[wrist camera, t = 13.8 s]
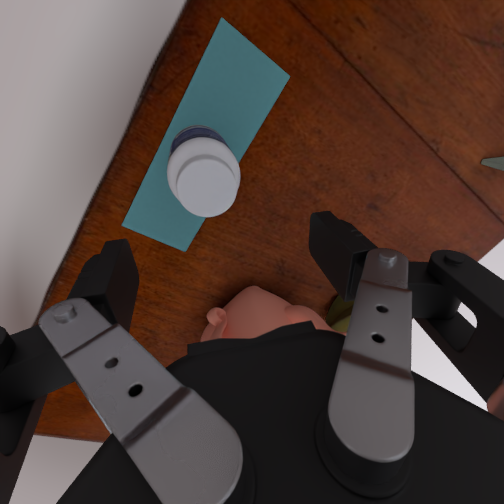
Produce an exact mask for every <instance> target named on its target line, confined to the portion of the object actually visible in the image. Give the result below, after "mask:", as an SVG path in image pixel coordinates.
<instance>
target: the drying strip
mask: <svg viewBox="0 0 504 504" xmlns="http://www.w3.org/2000/svg"><path fill="white" fill-rule="evenodd" d="M289 78H290V76H289V75H288V74H287V73H286V72H285V71H284V70H282V69H281V68H280V67H279V66H278V65H277V64H276V63H274V62H273V61H272V60H271V59H270V58H269V57H267V56H266V55H265V54H264V53H263V52H262V51H260V50H259V49H258V48H257V47H256V46H255V45H253V44H252V43H251V42H250V41H249V40H248V39H246V38H245V37H244V36H243V35H242V34H241V33H239V32H238V31H237V30H236V29H235V28H234V27H232V26H231V25H230V24H229V23H228V22H227V21H226V20H224V19H223V18H221V19H220V21H219V23H218V25H217V28H216V30H215V32H214V34H213V36H212V38H211V40H210V42H209V44H208V46H207V48H206V50H205V53H204V55H203V57H202V59H201V61H200V63H199V65H198V67H197V69H196V71H195V73H194V75H193V78H192V80H191V82H190V84H189V86H188V88H187V90H186V92H185V94H184V96H183V98H182V100H181V103H180V105H179V107H178V109H177V111H176V113H175V115H174V117H173V119H172V121H171V123H170V125H169V128H168V130H167V132H166V134H165V136H164V138H163V140H162V142H161V144H160V146H159V148H158V150H157V153H156V155H155V157H154V159H153V161H152V163H151V165H150V167H149V169H148V171H147V173H146V175H145V178H144V180H143V182H142V184H141V186H140V188H139V190H138V192H137V194H136V196H135V198H134V200H133V203H132V205H131V207H130V209H129V211H128V213H127V215H126V217H125V219H124V221H123V223H122V226H124V227H126V228H129V229H131V230H133V231H136V232H138V233H141V234H143V235H145V236H148V237H150V238H153V239H155V240H157V241H160V242H162V243H165V244H167V245H170V246H172V247H174V248H177V249H179V250H182V251H184V252H186V250H187V248H188V247H189V245H190V243H191V242H192V240H193V238H194V237H195V235H196V233H197V232H198V230H199V228H200V227H201V225H202V223H203V222H204V220H205V218H206V217H201V216H197V215H195V214H192V213H191V212H189V211H188V210H187V209H185V207H184V206H183V205H182V204H181V202H180V201H179V200H178V199H177V198H176V197H175V195H174V194H173V192H172V191H171V189H170V186H169V183H168V179H167V165H168V158H169V153H170V147H171V144H172V142H173V140H174V138H175V136H176V135H177V134H178V133H179V132H180V131H181V130H183V129H184V128H186V127H188V126H192V125H204V126H208V127H210V128H212V129H214V130H215V131H217V132H218V133H219V134H220V135H221V136H222V137H223V139H224V140H225V142H226V143H227V145H228V147H229V148H230V150H231V151H232V152H233V154H234V156H235V158H236V160H237V162H238V163H239V161H240V160H241V158H242V156H243V155H244V153H245V151H246V150H247V148H248V146H249V145H250V143H251V141H252V140H253V138H254V136H255V135H256V133H257V131H258V130H259V128H260V126H261V125H262V123H263V121H264V120H265V118H266V116H267V115H268V113H269V111H270V110H271V108H272V106H273V105H274V103H275V101H276V100H277V98H278V96H279V95H280V93H281V91H282V90H283V88H284V86H285V85H286V83H287V81H288V80H289Z"/></svg>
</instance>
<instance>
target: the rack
mask: <svg viewBox="0 0 504 504" xmlns="http://www.w3.org/2000/svg"><path fill="white" fill-rule="evenodd" d="M481 164H482V165H486V166H489V167H493V168H496V169H500V170H503V171H504V157H497V158H488V159H482V162H481Z"/></svg>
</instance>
